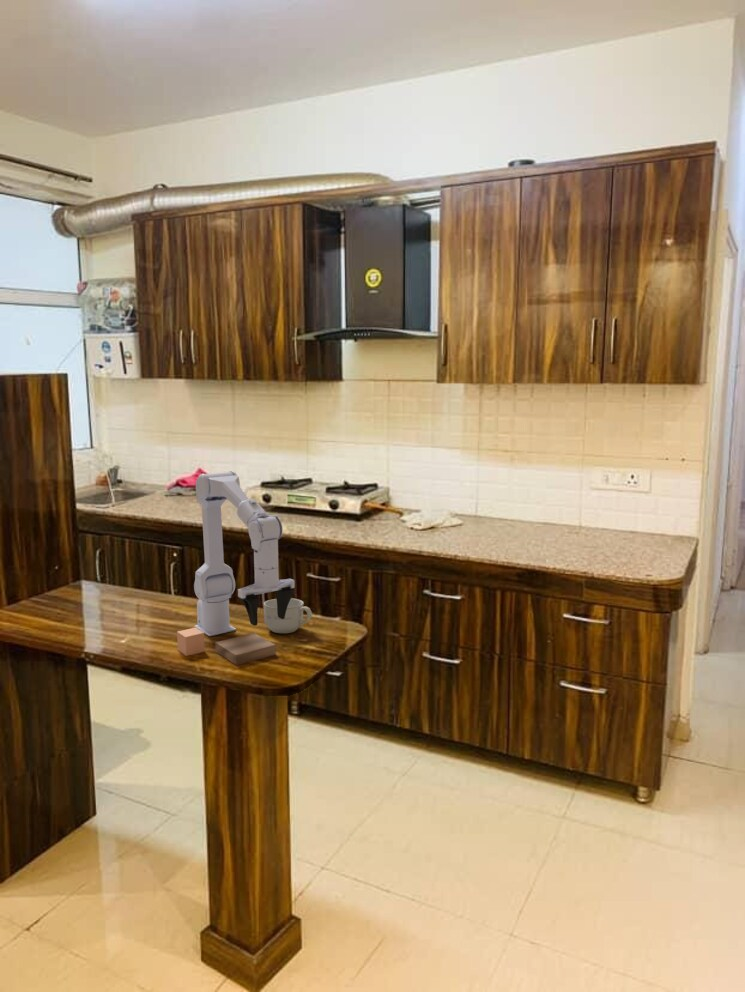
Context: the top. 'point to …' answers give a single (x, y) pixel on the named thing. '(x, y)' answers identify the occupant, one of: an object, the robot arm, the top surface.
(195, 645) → the terracotta block
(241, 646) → the walnut slab
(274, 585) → the robot arm
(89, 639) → the top surface
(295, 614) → the teacup
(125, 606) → the top surface
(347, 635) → the top surface
